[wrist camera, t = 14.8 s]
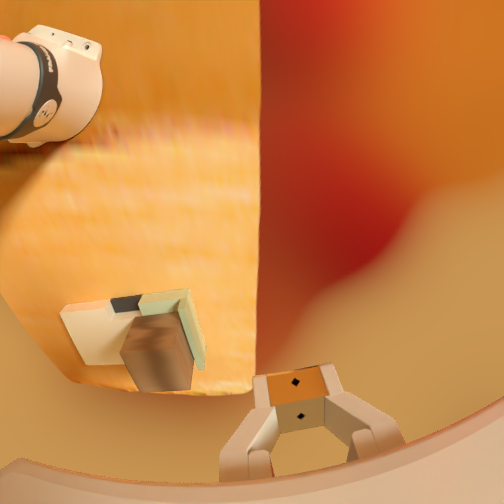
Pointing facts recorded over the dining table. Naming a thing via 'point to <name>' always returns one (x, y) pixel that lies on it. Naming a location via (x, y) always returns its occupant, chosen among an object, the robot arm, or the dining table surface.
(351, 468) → the robot arm
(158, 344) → the walnut block
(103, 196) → the dining table surface
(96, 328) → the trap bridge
